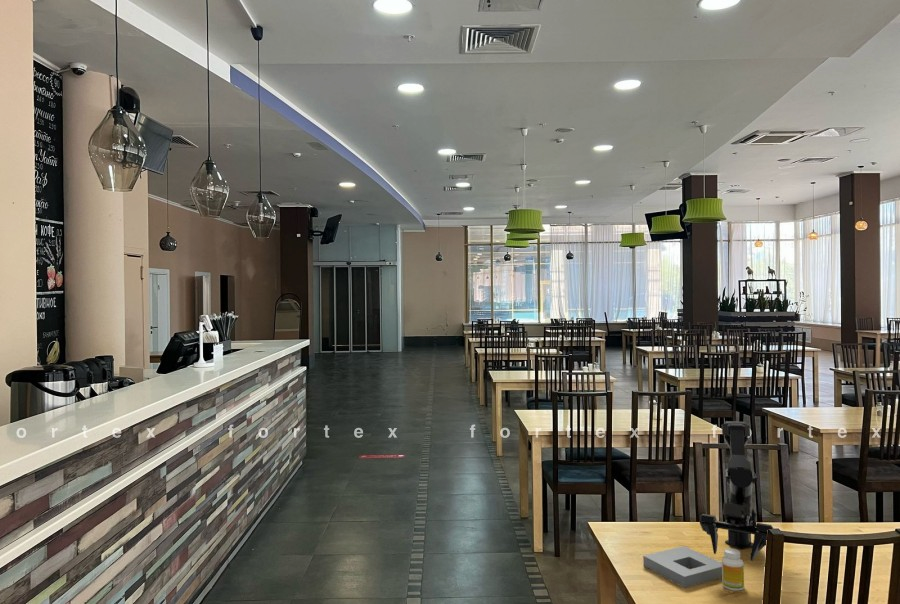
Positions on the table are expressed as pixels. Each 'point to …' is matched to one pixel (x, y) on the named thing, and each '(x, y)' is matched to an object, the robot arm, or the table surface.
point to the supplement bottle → (732, 570)
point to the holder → (684, 566)
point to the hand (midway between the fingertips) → (732, 557)
